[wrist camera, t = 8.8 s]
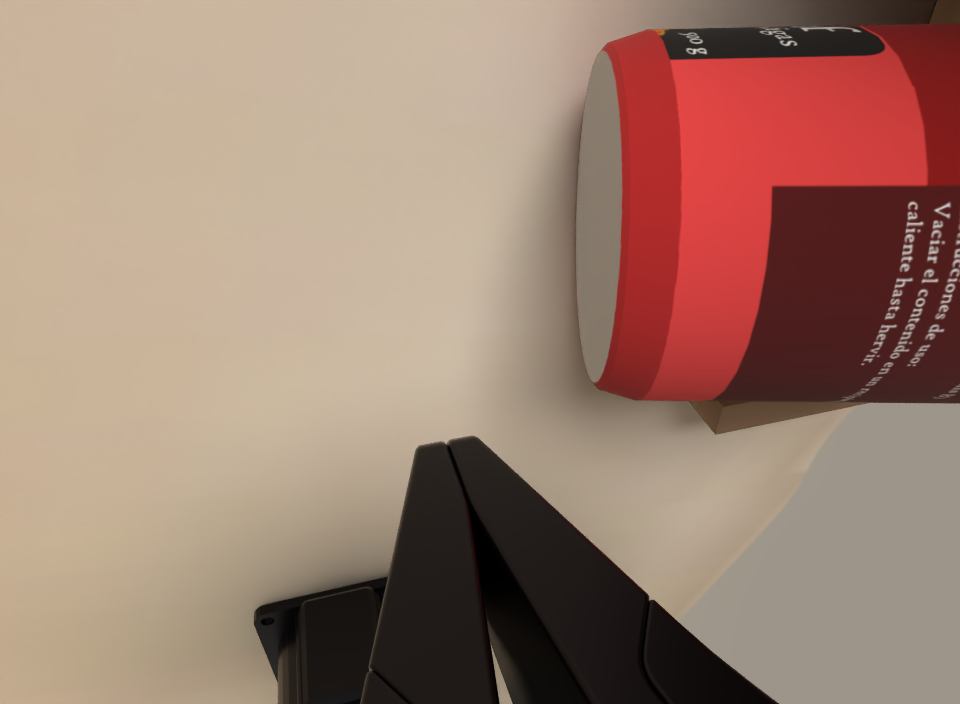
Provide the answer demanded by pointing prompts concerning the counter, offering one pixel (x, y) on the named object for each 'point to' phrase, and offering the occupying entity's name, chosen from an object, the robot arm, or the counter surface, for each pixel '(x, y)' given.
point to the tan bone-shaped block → (953, 5)
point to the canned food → (772, 215)
